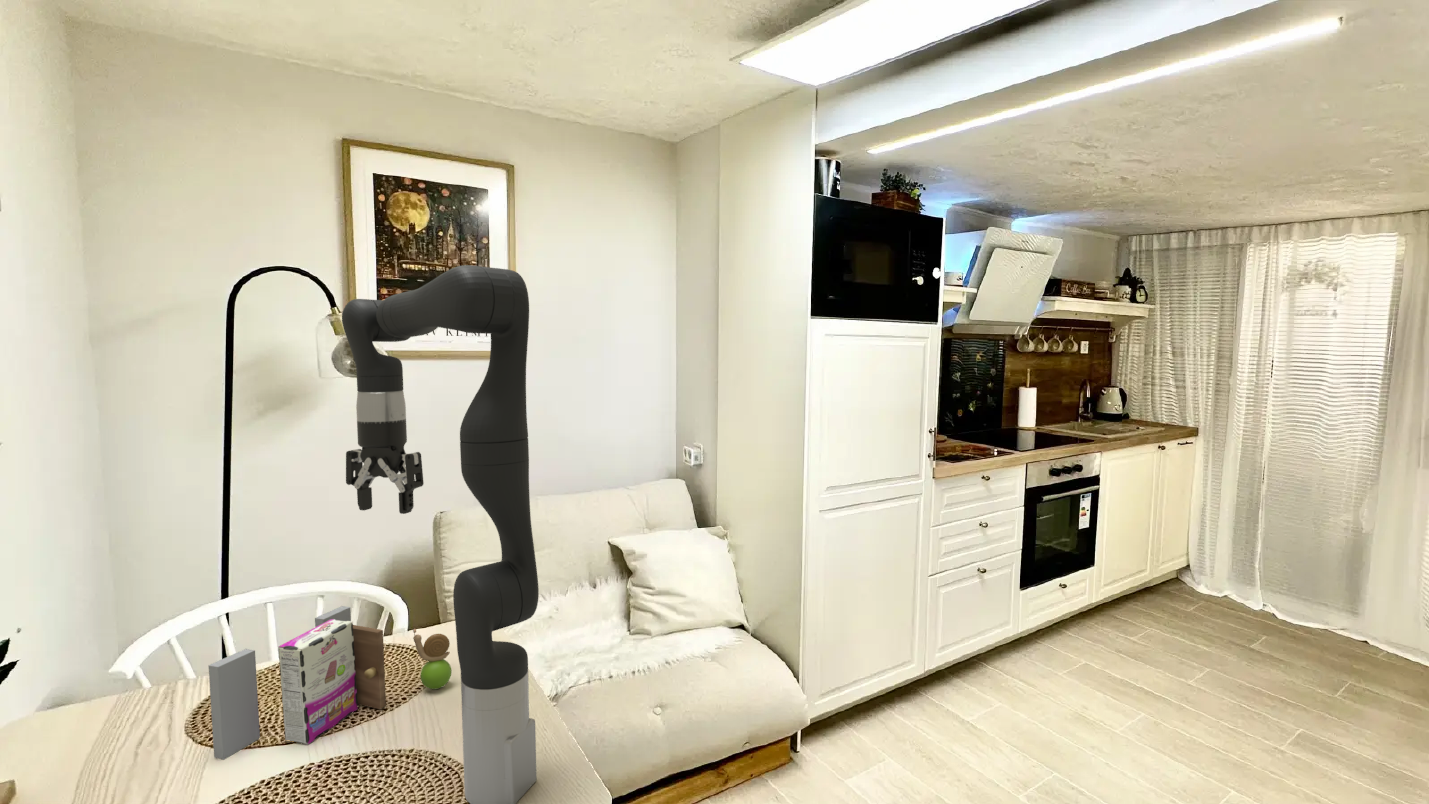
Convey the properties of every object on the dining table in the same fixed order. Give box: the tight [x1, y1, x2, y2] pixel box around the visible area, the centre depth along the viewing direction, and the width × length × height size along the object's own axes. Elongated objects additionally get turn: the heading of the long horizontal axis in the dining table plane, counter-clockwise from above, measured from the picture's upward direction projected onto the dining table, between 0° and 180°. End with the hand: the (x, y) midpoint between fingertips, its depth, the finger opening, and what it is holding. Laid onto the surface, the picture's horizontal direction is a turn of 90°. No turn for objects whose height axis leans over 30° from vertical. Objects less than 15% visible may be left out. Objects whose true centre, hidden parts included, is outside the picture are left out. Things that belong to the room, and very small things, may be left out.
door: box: [353, 624, 387, 710], centre depth 119 cm, size 2×12×14 cm, turn 71°
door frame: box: [208, 605, 352, 761], centre depth 115 cm, size 2×25×15 cm, turn 163°
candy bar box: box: [278, 619, 359, 745], centre depth 112 cm, size 11×5×16 cm, turn 167°
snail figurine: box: [412, 628, 452, 690], centre depth 125 cm, size 5×6×12 cm
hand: (385, 511), depth 114 cm, fingers open, 8 cm apart
